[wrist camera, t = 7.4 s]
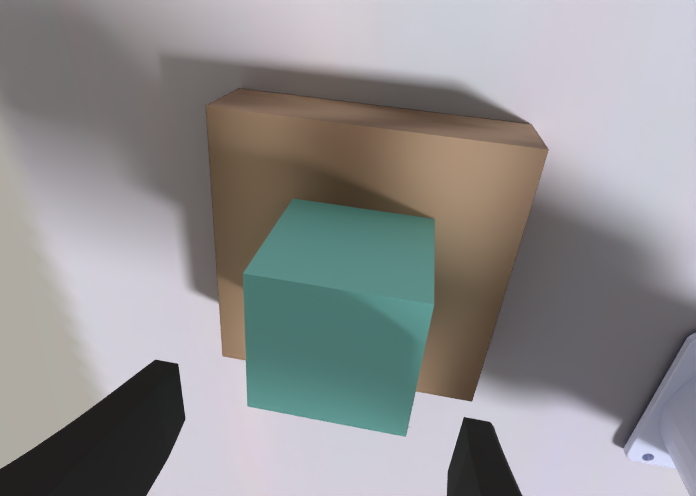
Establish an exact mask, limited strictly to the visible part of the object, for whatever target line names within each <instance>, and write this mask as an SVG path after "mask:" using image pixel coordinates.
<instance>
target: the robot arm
mask: <svg viewBox="0 0 696 496" xmlns="http://www.w3.org/2000/svg"><path fill="white" fill-rule="evenodd" d="M184 421H185V412H184V405H183V397H182V390H181V382H180V374H179V367H178V364H176V363H171V362H165V361H160V360H154V361H153V362H152V363H150V364H149V365H148V366H146V367H145V368H144V369H142V370H141V371H140V372H138V373H137V374H136V375H134V376H133V377H132V378H130V379H129V380H128V381H126V382H125V383H124V384H123V385H121V386H120V387H119V388H117V389H116V390H115V391H113V392H112V393H111V394H109V395H108V396H107V397H105V398H104V399H103V400H101V401H100V402H99V403H97V404H96V405H95V406H93V407H92V408H90V409H89V410H88V411H86V412H85V413H84V414H82V415H81V416H80V417H78V418H77V419H76V420H74V421H73V422H71V423H70V424H68V425H67V426H66V427H64V428H63V429H61V430H60V431H58V432H57V433H55V434H54V435H52V436H51V437H49V438H48V439H46V440H45V441H43V442H42V443H41V444H39V445H38V446H36V447H35V448H33V449H32V450H30V451H28V452H27V453H25V454H24V455H22V456H21V457H19V458H18V459H16V460H14V461H13V462H11V463H10V464H8V465H6V466H5V467H3V468H1V469H0V496H146V495H147V493H148V492H149V490H150V488H151V487H152V485H153V483H154V482H155V480H156V478H157V476H158V475H159V473H160V471H161V470H162V468H163V466H164V464H165V463H166V461H167V459H168V457H169V455H170V453H171V451H172V449H173V446H174V444H175V442H176V440H177V437H178V435H179V433H180V431H181V428H182V426H183V424H184ZM624 452H625V455H626V457H627V458H628V459H629V460H632V461H636V462H641V463H646V464H652V465H657V466H662V467H668V468H673V469H677V470H678V473H679V475H680V477H681V479H682V481H683V483H684V485H685V487H686V489H687V491H688V493H689V495H690V496H696V333H693V334H692V335H690V336H689V337H688V338H687V339H686V340H685V342H684V344H683V346H682V347H681V349H680V351H679V353H678V354H677V356H676V358H675V360H674V361H673V363H672V365H671V367H670V368H669V370H668V372H667V374H666V375H665V377H664V379H663V381H662V382H661V384H660V386H659V388H658V389H657V391H656V393H655V394H654V396H653V398H652V400H651V401H650V403H649V405H648V407H647V408H646V410H645V412H644V414H643V415H642V417H641V419H640V421H639V422H638V424H637V426H636V428H635V429H634V431H633V433H632V435H631V436H630V438H629V440H628V442H627V443H626V445H625V447H624ZM447 496H522V494H521V492H520V490H519V487H518V485H517V483H516V481H515V479H514V476H513V474H512V472H511V469H510V467H509V465H508V462H507V460H506V458H505V455H504V453H503V450H502V448H501V445H500V443H499V440H498V437H497V435H496V432H495V429H494V426H493V425H492V424H491V423H490V422H487V421H482V420H477V419H471V418H466V417H464V419H463V422H462V426H461V429H460V432H459V436H458V439H457V442H456V446H455V449H454V452H453V456H452V459H451V462H450V466H449V469H448V482H447Z"/></svg>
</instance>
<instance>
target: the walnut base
mask: <svg viewBox="0 0 696 496" xmlns="http://www.w3.org/2000/svg"><path fill="white" fill-rule="evenodd" d="M206 119H207V133H208V148H209V163H210V178H211V192H212V207H213V222H214V237H215V251H216V266H217V281H218V296H219V310H220V325H221V340H222V355H223V356H225V357H230V358H236V359H241V360H246V348H245V320H244V291H243V273H244V271H245V270H246V268H247V267H248V265H249V264H250V262H251V261H252V259H253V258H254V256H255V255H256V253H257V252H258V250H259V249H260V247H261V246H262V244H263V243H264V241H265V240H266V238H267V237H268V235H269V234H270V232H271V231H272V229H273V228H274V226H275V225H276V223H277V222H278V220H279V219H280V217H281V216H282V214H283V213H284V211H285V210H286V208H287V207H288V205H289V204H290V202H291V201H292V199H300V200H307V201H314V202H321V203H327V204H334V205H341V206H348V207H355V208H362V209H369V210H376V211H383V212H390V213H397V214H404V215H410V216H417V217H424V218H431V219H435V271H434V308H433V313H432V317H431V322H430V327H429V331H428V336H427V341H426V345H425V350H424V354H423V359H422V364H421V368H420V373H419V378H418V382H417V387H416V391H417V392H422V393H428V394H433V395H439V396H444V397H450V398H455V399H461V400H466V401H472V400H473V397H474V393H475V390H476V387H477V384H478V380H479V377H480V374H481V370H482V367H483V364H484V361H485V357H486V354H487V351H488V347H489V344H490V341H491V338H492V334H493V331H494V328H495V324H496V321H497V318H498V315H499V311H500V308H501V305H502V301H503V298H504V295H505V292H506V288H507V285H508V282H509V278H510V275H511V272H512V269H513V265H514V262H515V259H516V255H517V252H518V249H519V246H520V242H521V239H522V236H523V232H524V229H525V226H526V222H527V219H528V216H529V213H530V209H531V206H532V203H533V199H534V196H535V193H536V190H537V186H538V183H539V180H540V176H541V173H542V170H543V167H544V163H545V160H546V157H547V153H548V150H549V149H548V148H547V146H546V145H545V143H544V142H543V140H542V139H541V137H540V136H539V134H538V133H537V131H536V130H535V128H534V127H533V125H532V124H525V123H517V122H509V121H500V120H492V119H484V118H476V117H468V116H460V115H451V114H443V113H435V112H427V111H419V110H411V109H402V108H394V107H386V106H378V105H370V104H361V103H353V102H345V101H337V100H329V99H321V98H312V97H304V96H296V95H288V94H280V93H272V92H263V91H255V90H247V89H237V90H235V91H233V92H231V93H229V94H227V95H225V96H223V97H222V98H220V99H218V100H216V101H214V102H212V103H210V104H208V105H207V106H206Z"/></svg>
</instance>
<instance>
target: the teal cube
mask: <svg viewBox="0 0 696 496" xmlns="http://www.w3.org/2000/svg"><path fill="white" fill-rule="evenodd" d="M434 271H435V219H431V218H424V217H417V216H410V215H404V214H397V213H390V212H383V211H376V210H369V209H362V208H355V207H348V206H341V205H334V204H327V203H321V202H314V201H307V200H300V199H292V201H291V202H290V204H289V205H288V207H287V208H286V210H285V211H284V213H283V214H282V216H281V217H280V219H279V220H278V222H277V223H276V225H275V226H274V228H273V229H272V231H271V232H270V234H269V235H268V237H267V238H266V240H265V241H264V243H263V244H262V246H261V247H260V249H259V250H258V252H257V253H256V255H255V256H254V258H253V259H252V261H251V262H250V264H249V265H248V267H247V268H246V270H245V271H244V273H243V291H244V320H245V348H246V376H247V405H248V406H249V407H254V408H259V409H264V410H269V411H275V412H280V413H285V414H290V415H295V416H301V417H306V418H311V419H316V420H321V421H327V422H332V423H337V424H342V425H347V426H353V427H358V428H363V429H368V430H374V431H379V432H384V433H389V434H394V435H400V436H405V437H406V433H407V429H408V424H409V420H410V415H411V410H412V406H413V401H414V396H415V392H416V387H417V382H418V378H419V373H420V368H421V364H422V359H423V354H424V350H425V345H426V341H427V336H428V331H429V327H430V322H431V317H432V313H433V308H434Z"/></svg>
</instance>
